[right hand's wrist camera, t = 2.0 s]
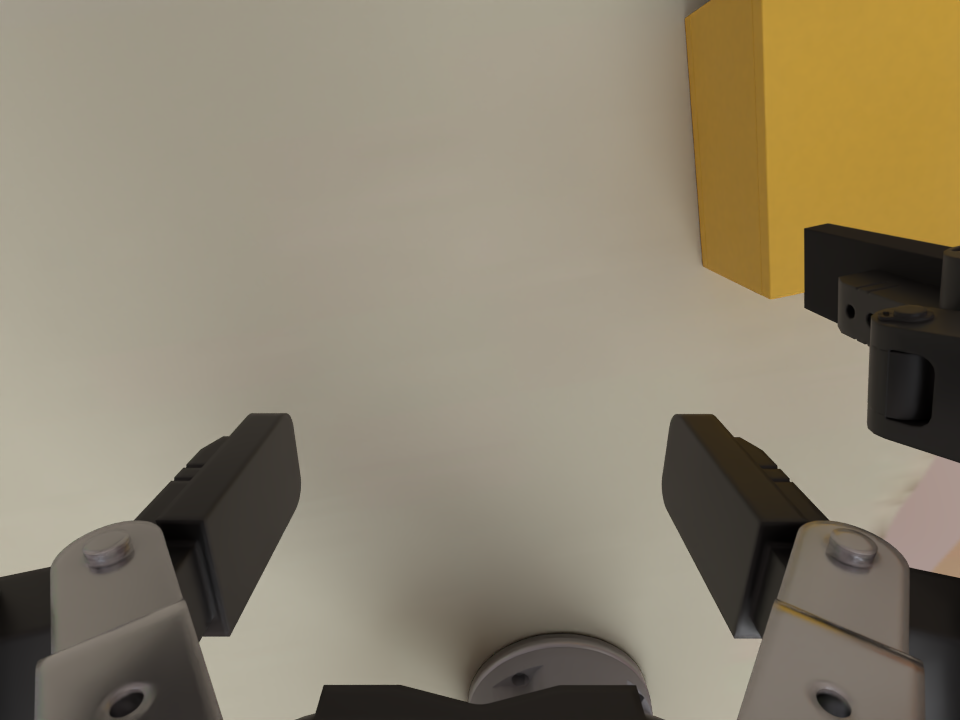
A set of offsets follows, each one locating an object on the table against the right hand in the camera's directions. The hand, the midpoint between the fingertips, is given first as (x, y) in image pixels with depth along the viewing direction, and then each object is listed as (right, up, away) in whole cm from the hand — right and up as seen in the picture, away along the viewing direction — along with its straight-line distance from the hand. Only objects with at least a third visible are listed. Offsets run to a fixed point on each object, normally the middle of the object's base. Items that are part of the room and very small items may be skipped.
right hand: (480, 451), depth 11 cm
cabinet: (+17, +15, +19) cm, 29 cm away
